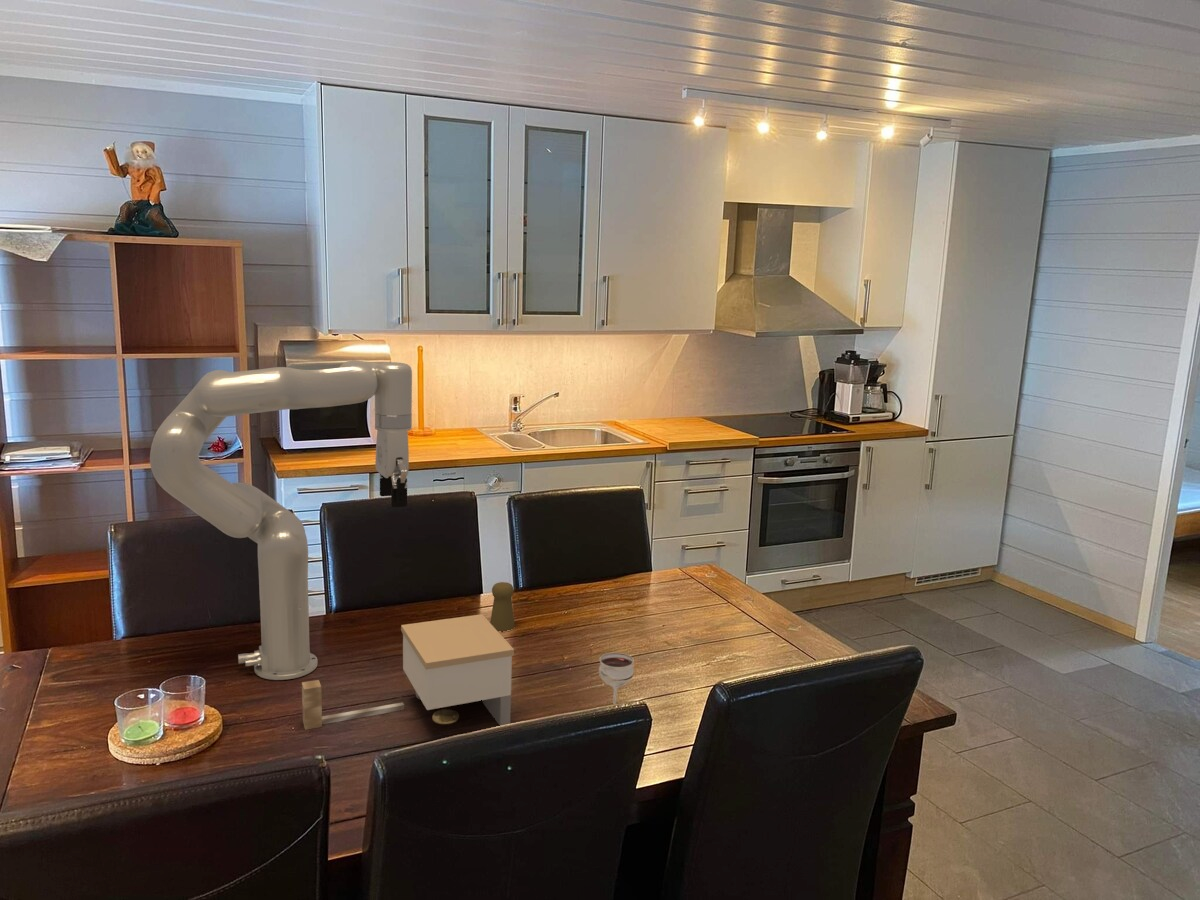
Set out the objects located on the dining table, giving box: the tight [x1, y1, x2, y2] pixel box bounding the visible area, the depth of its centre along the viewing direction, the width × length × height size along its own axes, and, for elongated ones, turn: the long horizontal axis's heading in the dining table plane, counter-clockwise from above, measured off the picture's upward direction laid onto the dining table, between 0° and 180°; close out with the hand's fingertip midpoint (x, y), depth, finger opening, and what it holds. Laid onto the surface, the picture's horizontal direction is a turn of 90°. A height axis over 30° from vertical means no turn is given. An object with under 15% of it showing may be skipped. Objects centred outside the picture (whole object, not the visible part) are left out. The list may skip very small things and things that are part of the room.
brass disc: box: [431, 708, 460, 725], centre depth 167 cm, size 5×5×1 cm
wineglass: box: [598, 652, 635, 705], centre depth 168 cm, size 7×7×12 cm
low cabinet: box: [400, 613, 515, 726], centre depth 168 cm, size 17×19×15 cm
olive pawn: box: [489, 581, 516, 631], centre depth 210 cm, size 6×6×11 cm
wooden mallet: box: [301, 679, 405, 731], centre depth 165 cm, size 18×3×8 cm, turn 116°
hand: (393, 501), depth 186 cm, fingers open, 9 cm apart
